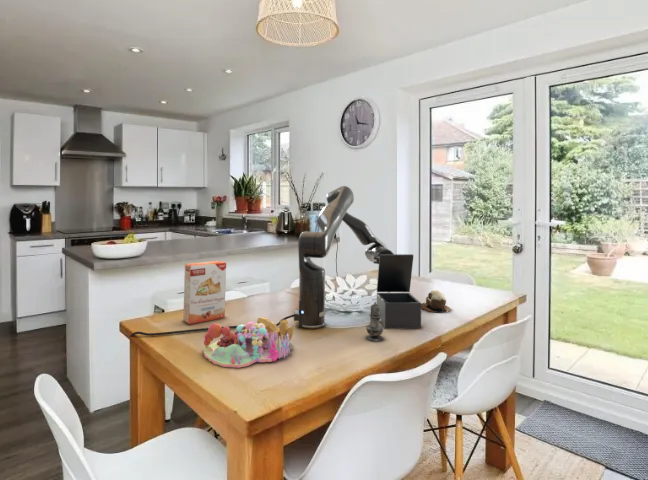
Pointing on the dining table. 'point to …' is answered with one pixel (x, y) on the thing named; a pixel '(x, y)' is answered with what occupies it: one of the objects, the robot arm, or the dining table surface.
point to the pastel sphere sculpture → (248, 343)
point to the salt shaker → (374, 324)
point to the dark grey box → (399, 310)
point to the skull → (435, 302)
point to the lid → (394, 272)
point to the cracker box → (204, 291)
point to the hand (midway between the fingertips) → (393, 263)
